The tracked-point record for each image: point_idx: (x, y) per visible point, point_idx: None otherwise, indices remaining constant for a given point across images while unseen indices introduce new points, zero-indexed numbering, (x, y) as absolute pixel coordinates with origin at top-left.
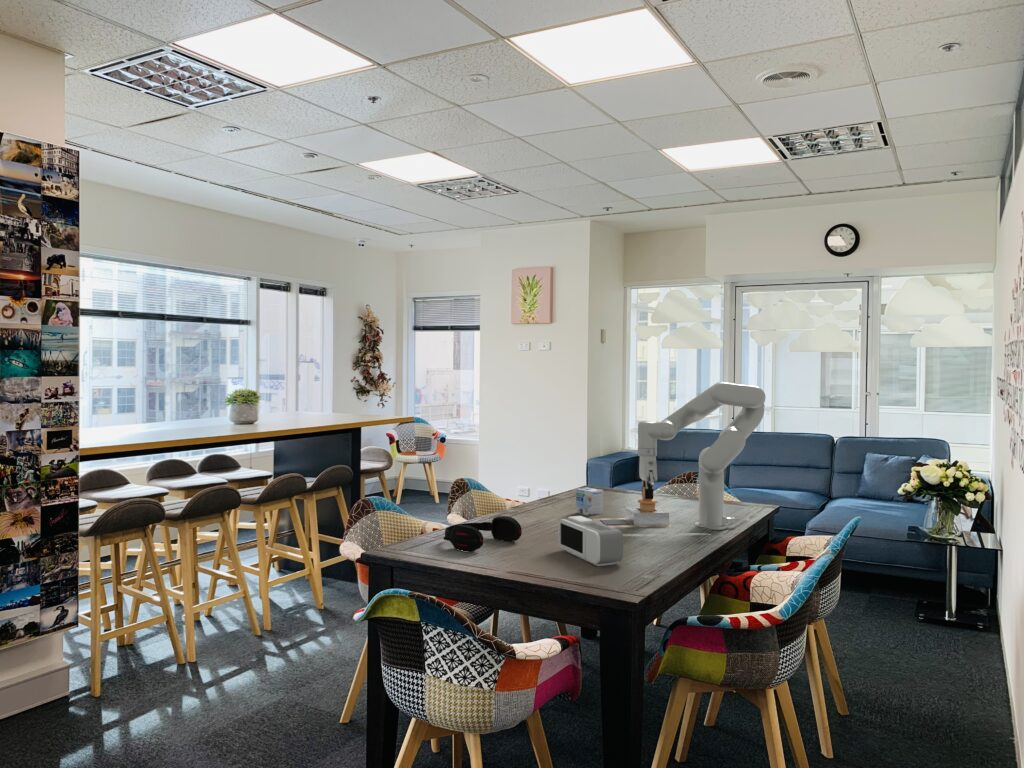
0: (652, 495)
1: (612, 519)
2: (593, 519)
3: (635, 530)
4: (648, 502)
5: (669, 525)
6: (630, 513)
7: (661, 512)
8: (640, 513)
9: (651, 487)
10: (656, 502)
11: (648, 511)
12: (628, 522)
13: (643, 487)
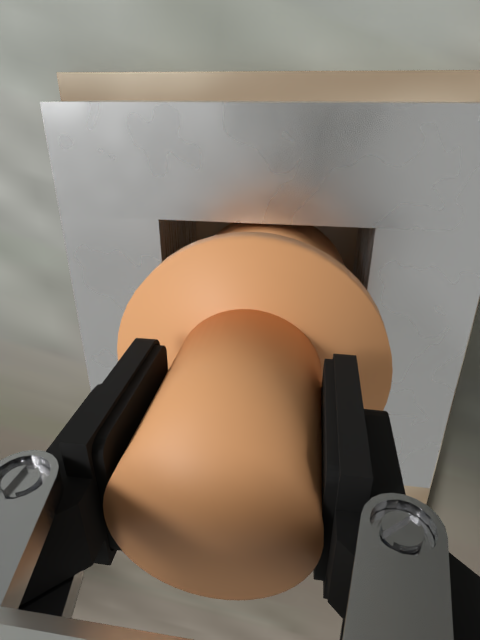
0: (356, 394)
1: None
2: None
3: (470, 410)
4: (383, 400)
5: (475, 96)
6: None
7: (471, 209)
8: (440, 437)
9: (467, 585)
10: (348, 271)
11: None
12: None
13: (170, 572)
